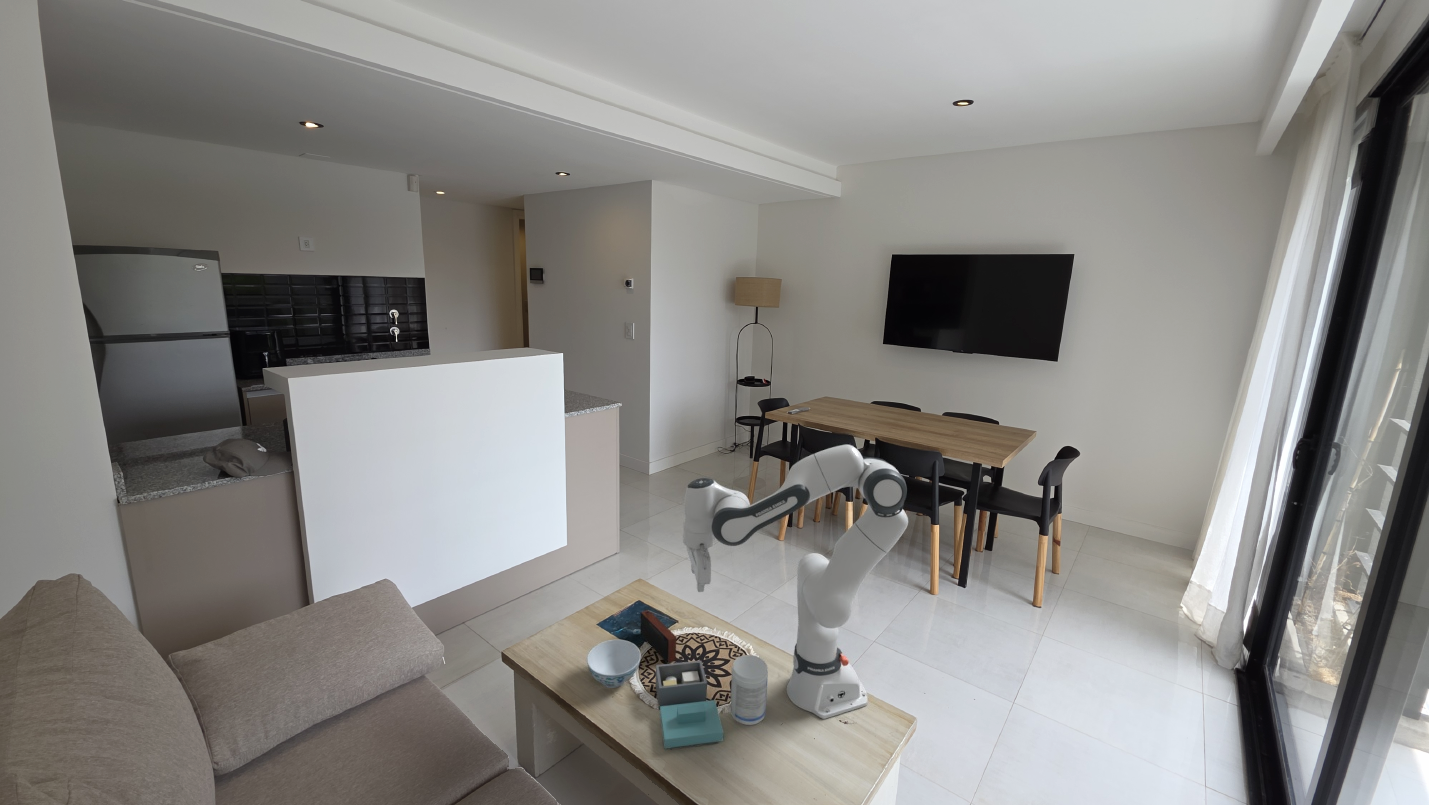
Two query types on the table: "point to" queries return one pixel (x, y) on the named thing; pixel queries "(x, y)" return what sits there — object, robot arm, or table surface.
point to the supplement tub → (749, 689)
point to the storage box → (680, 683)
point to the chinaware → (613, 662)
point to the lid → (690, 724)
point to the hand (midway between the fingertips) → (697, 581)
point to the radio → (658, 636)
